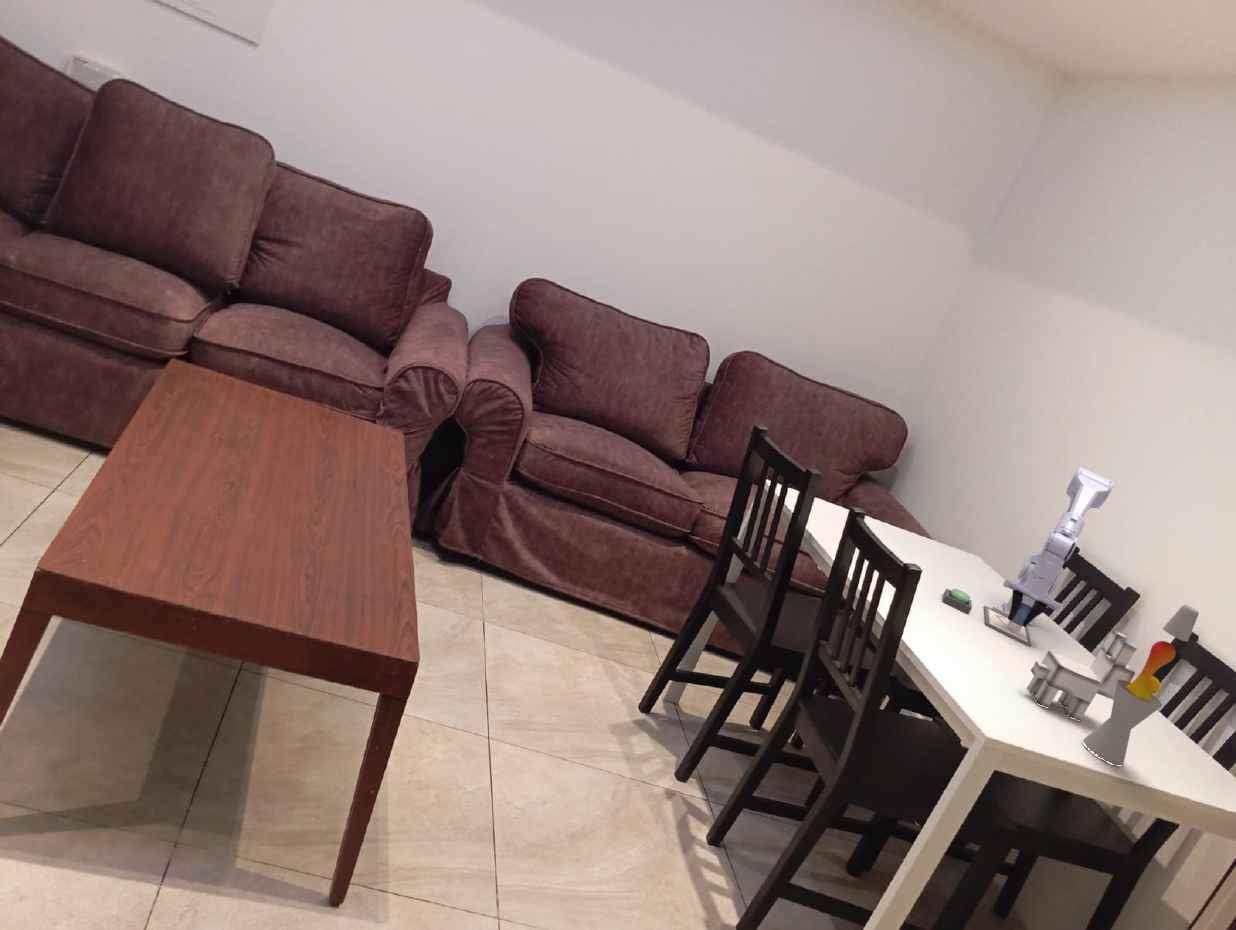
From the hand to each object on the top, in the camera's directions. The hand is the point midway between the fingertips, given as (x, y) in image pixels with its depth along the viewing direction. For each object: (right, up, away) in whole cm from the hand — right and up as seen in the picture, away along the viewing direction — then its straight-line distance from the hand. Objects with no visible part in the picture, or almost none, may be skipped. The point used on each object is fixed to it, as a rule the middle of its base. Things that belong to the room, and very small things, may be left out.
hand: (1016, 622), depth 263 cm
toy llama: (-6, -13, -38) cm, 40 cm away
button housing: (-14, +4, +6) cm, 15 cm away
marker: (-1, -2, 0) cm, 2 cm away
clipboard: (-1, -2, +5) cm, 5 cm away
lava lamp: (-3, -19, -53) cm, 57 cm away
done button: (-13, +5, +5) cm, 15 cm away
